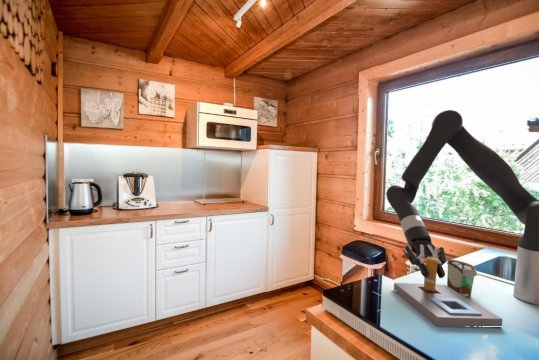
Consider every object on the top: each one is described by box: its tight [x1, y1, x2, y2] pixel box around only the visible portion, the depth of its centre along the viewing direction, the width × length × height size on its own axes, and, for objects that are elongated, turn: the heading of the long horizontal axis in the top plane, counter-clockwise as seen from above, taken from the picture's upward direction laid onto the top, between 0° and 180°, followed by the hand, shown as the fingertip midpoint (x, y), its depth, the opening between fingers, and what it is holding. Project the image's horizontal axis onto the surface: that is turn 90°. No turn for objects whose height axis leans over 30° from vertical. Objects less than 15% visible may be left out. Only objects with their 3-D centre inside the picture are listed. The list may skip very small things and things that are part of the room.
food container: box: [446, 258, 478, 299], centre depth 94 cm, size 12×6×10 cm, turn 168°
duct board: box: [393, 282, 503, 328], centre depth 83 cm, size 18×22×3 cm
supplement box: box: [423, 256, 438, 291], centre depth 89 cm, size 3×3×10 cm
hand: (434, 276), depth 87 cm, fingers closed on supplement box, 4 cm apart
